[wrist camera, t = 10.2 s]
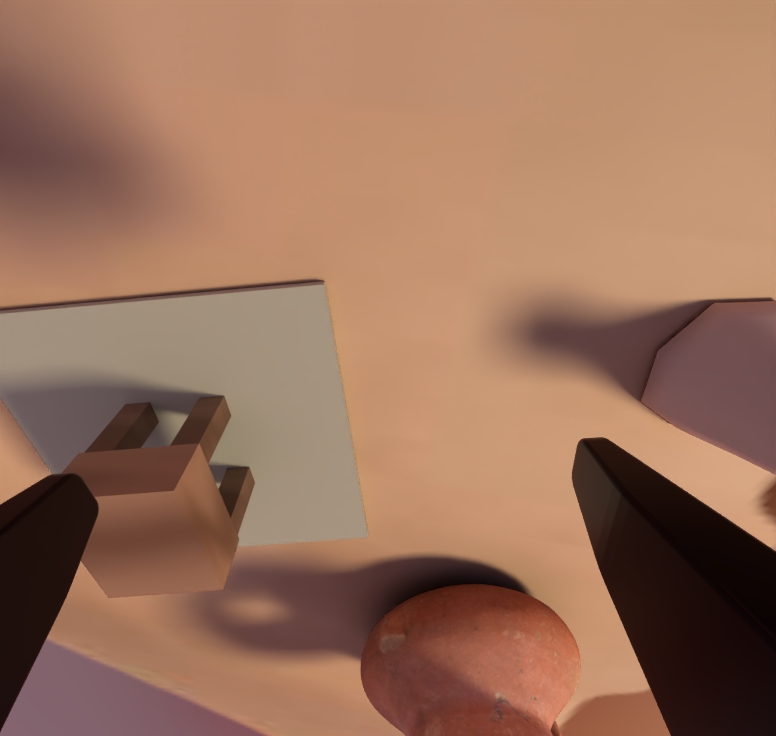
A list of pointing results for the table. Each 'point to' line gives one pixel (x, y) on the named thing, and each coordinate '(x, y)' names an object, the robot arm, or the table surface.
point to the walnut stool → (162, 504)
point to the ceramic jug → (471, 664)
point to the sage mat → (200, 393)
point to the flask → (722, 380)
